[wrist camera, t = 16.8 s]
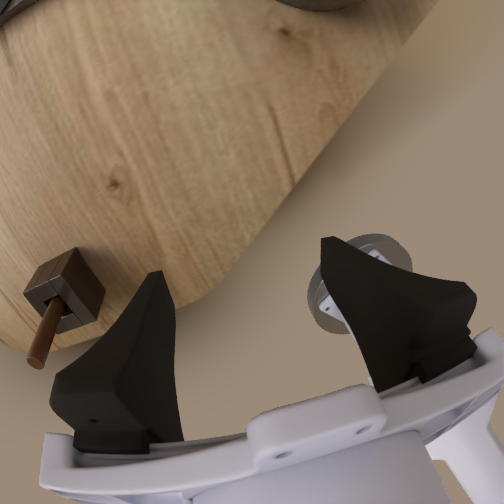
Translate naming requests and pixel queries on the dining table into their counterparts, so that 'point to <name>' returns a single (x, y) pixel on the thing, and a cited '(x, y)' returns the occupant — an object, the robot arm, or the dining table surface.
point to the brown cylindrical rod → (46, 333)
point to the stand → (67, 290)
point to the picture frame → (12, 8)
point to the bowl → (320, 4)
